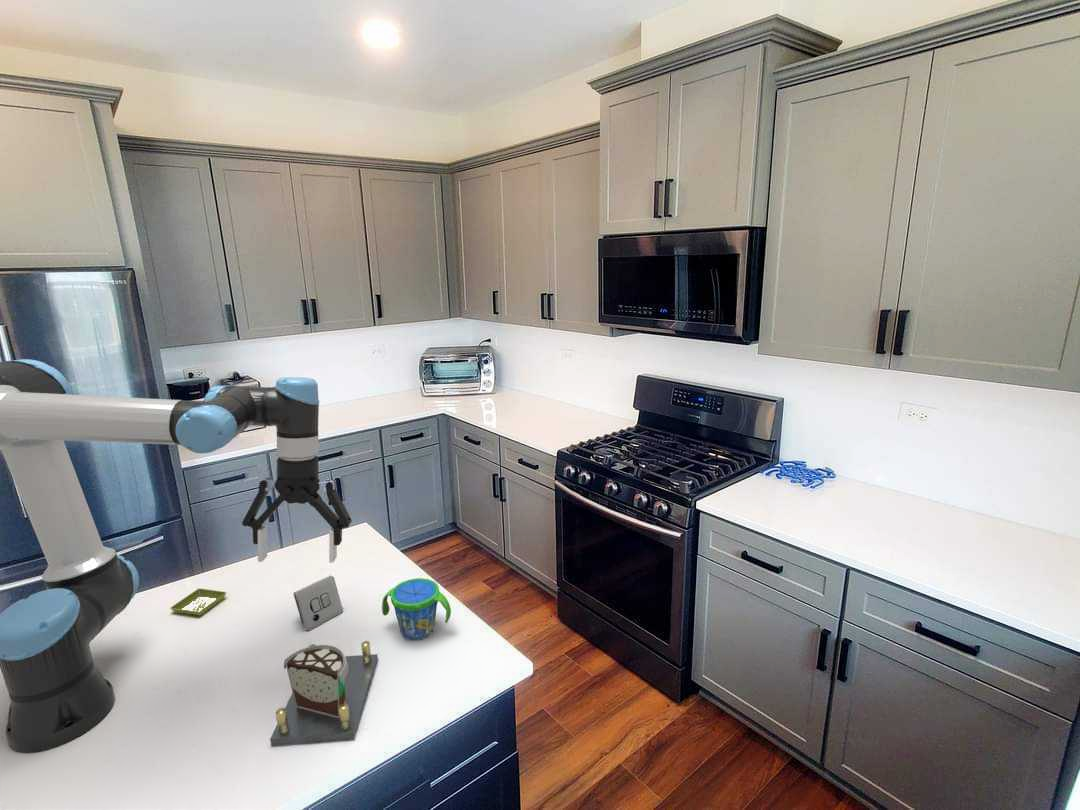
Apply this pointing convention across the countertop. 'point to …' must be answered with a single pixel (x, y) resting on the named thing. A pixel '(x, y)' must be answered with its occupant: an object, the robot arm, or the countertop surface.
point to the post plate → (324, 728)
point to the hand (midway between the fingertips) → (298, 559)
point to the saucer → (193, 596)
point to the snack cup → (416, 606)
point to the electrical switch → (318, 602)
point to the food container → (318, 678)
